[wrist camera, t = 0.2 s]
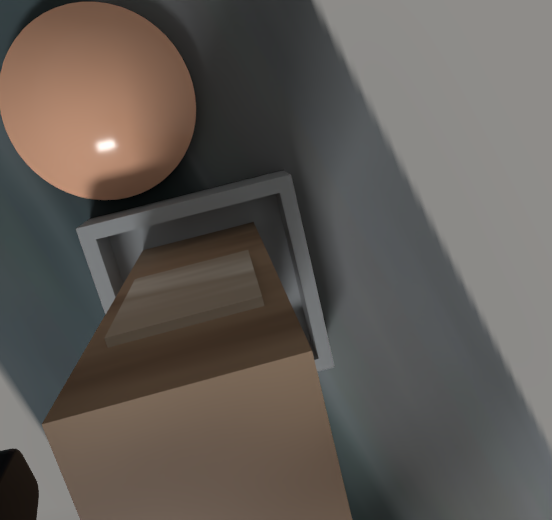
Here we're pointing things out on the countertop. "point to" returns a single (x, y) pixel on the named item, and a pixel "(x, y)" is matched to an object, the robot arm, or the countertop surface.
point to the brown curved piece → (97, 100)
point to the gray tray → (206, 219)
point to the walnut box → (198, 396)
